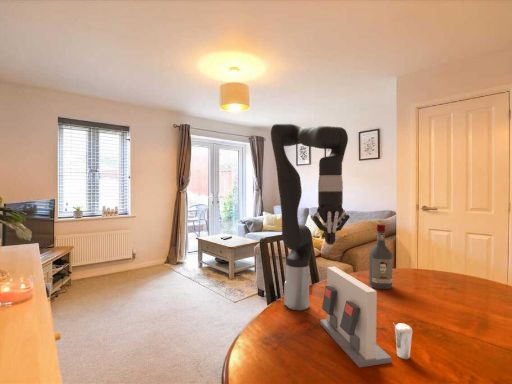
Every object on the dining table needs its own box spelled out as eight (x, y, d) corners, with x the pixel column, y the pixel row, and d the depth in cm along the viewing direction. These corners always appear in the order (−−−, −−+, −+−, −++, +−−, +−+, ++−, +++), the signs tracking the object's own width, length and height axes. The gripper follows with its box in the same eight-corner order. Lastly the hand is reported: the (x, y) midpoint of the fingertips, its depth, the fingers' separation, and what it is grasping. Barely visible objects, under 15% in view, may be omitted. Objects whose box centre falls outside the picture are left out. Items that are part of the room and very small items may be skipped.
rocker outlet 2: (347, 335, 82) (354, 307, 82) (339, 326, 87) (345, 300, 87) (353, 335, 82) (360, 308, 82) (344, 327, 87) (350, 301, 87)
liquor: (368, 282, 146) (368, 223, 145) (387, 283, 145) (387, 223, 144) (373, 288, 137) (373, 226, 136) (393, 289, 136) (394, 226, 135)
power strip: (359, 367, 79) (359, 293, 78) (319, 323, 103) (320, 267, 103) (391, 362, 81) (392, 290, 80) (345, 320, 106) (345, 265, 105)
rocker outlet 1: (328, 314, 95) (332, 290, 95) (321, 308, 100) (325, 285, 100) (332, 315, 95) (337, 291, 95) (326, 308, 100) (329, 286, 100)
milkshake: (388, 352, 86) (389, 319, 86) (405, 351, 87) (406, 318, 86) (397, 361, 82) (398, 326, 81) (415, 360, 82) (416, 325, 82)
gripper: (343, 189, 97) (342, 240, 97) (306, 189, 94) (306, 242, 94) (355, 190, 89) (355, 245, 90) (315, 190, 87) (315, 247, 87)
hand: (330, 244), depth 92 cm, fingers closed
